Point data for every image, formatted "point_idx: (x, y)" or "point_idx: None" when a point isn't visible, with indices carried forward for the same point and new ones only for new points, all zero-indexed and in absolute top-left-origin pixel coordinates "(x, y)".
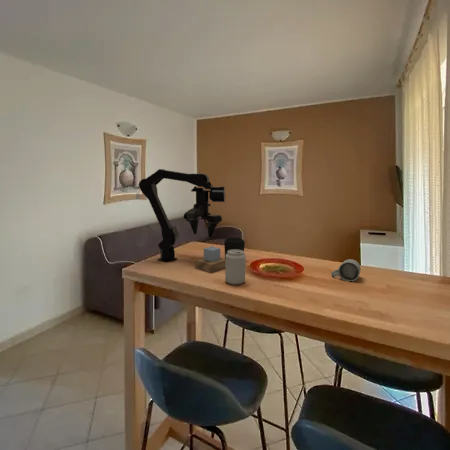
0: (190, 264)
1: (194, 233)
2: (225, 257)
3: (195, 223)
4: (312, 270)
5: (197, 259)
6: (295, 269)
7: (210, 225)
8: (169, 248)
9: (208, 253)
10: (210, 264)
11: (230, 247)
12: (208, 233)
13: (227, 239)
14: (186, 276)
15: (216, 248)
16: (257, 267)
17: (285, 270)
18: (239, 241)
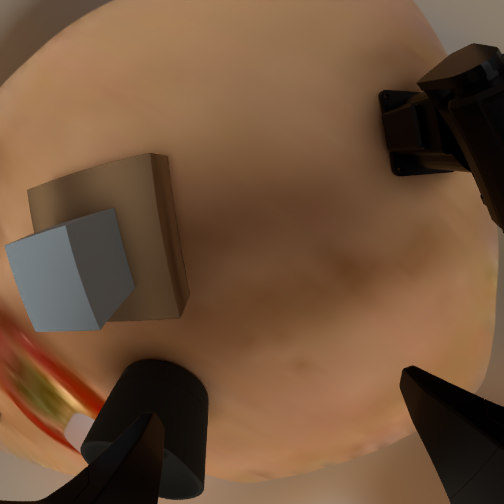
0: (249, 173)
1: (409, 374)
2: (168, 375)
3: (468, 481)
4: (21, 419)
5: (149, 176)
6: (28, 410)
7: (20, 502)
8: (418, 82)
9: (47, 229)
10: (32, 189)
11: (106, 415)
12: (135, 441)
13: (193, 476)
14: (92, 60)
15: (38, 310)
16: (56, 377)
17: (23, 393)
18: (161, 482)
